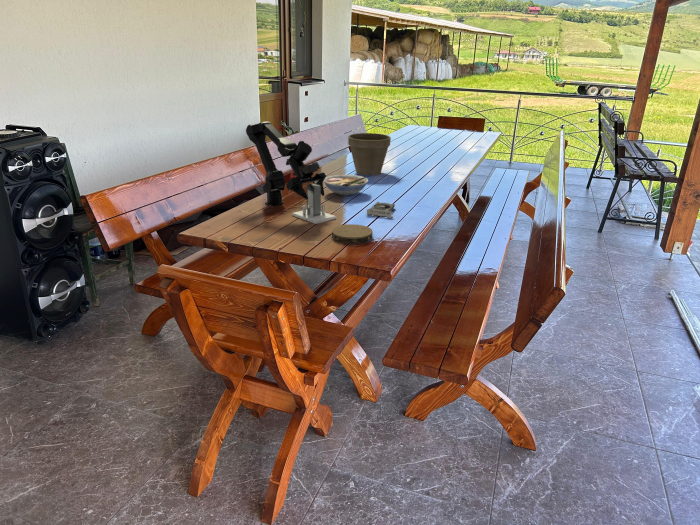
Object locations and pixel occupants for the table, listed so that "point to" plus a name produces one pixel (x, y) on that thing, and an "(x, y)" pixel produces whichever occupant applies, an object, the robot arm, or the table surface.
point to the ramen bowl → (345, 184)
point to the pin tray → (311, 218)
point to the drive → (314, 199)
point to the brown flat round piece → (352, 234)
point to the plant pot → (368, 152)
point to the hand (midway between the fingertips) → (315, 197)
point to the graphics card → (381, 210)
